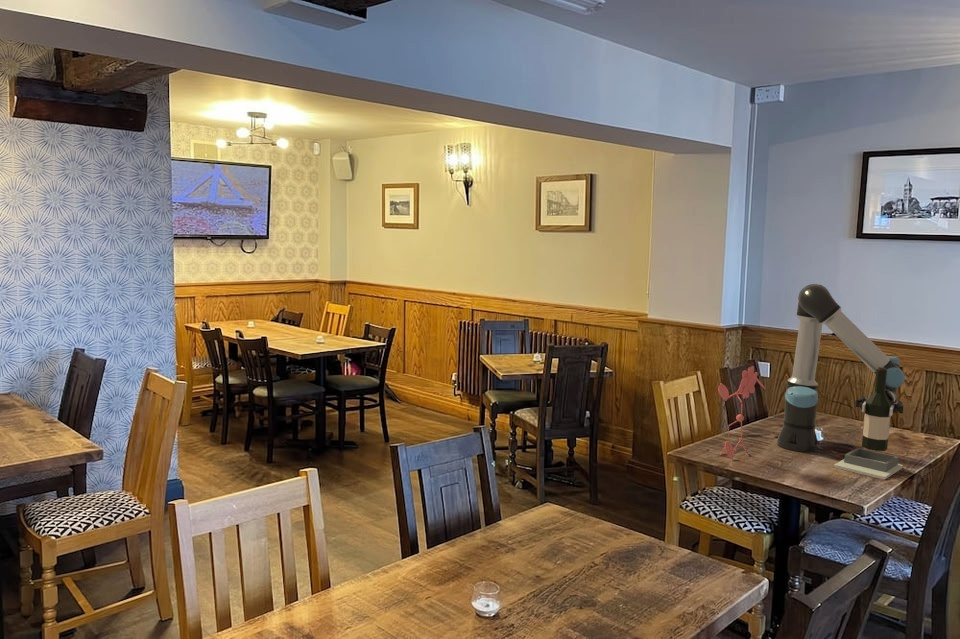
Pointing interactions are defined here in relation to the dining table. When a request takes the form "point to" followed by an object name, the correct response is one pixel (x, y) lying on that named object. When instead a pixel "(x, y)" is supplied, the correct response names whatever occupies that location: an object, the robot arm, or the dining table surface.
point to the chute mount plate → (870, 463)
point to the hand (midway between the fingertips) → (876, 410)
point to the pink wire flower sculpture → (747, 388)
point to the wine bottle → (877, 415)
